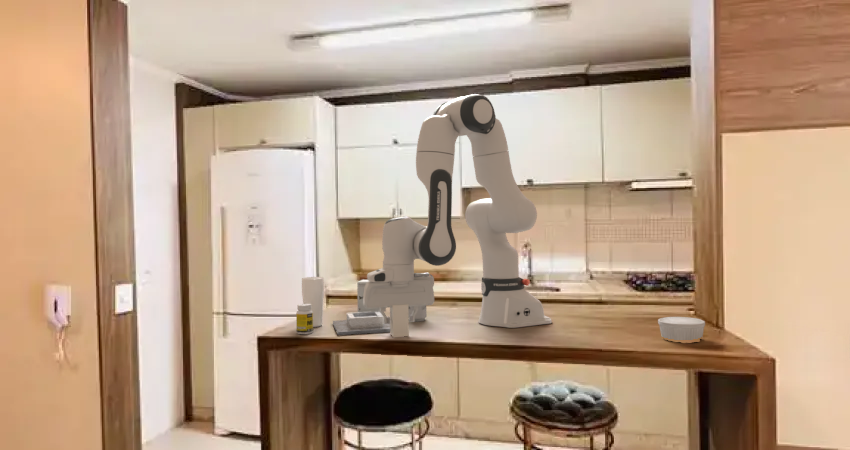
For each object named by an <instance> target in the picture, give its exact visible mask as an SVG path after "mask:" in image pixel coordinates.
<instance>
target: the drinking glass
mask: <svg viewBox="0 0 850 450" xmlns="http://www.w3.org/2000/svg"><path fill="white" fill-rule="evenodd" d="M324 280H325V278H324V277H323V276H311V277H310V276H307V277H302V278H301V295H302V296H301V297H302V304H311V310H312V312H313V328H317V327H322V325H323V312H324V296H325V295H324V293H325V281H324Z"/></svg>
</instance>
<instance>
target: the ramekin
mask: <svg viewBox="0 0 850 450" xmlns="http://www.w3.org/2000/svg"><path fill="white" fill-rule="evenodd" d="M657 323H658V325H659V332H660V334H661V338H662V337H664V338H668V339H674V340H693V339H698V338H701V337H702V338H703V337H704V330H705V326H706V321H705V320H702V319H700V318H696V317H687V316H666V317H660V318H658V319H657Z"/></svg>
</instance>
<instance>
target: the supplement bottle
mask: <svg viewBox="0 0 850 450" xmlns="http://www.w3.org/2000/svg"><path fill="white" fill-rule="evenodd" d="M295 316H296V317H295V318H296V320H295V321H296V334H298V335H310V334H312V333H314V327H313V312H312V310H311V304H303V303H298V304H297V311H296V315H295Z"/></svg>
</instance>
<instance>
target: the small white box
mask: <svg viewBox="0 0 850 450" xmlns="http://www.w3.org/2000/svg"><path fill="white" fill-rule="evenodd" d="M389 317H390V332H389V333H390V336H391V335H392V336H391V337H392V338H405V337H404V336H408V337H410V322H409V311H408V304H406V305H392V307H389Z"/></svg>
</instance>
